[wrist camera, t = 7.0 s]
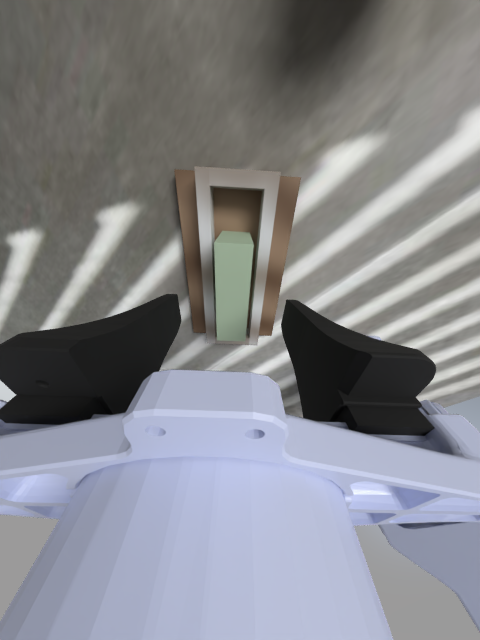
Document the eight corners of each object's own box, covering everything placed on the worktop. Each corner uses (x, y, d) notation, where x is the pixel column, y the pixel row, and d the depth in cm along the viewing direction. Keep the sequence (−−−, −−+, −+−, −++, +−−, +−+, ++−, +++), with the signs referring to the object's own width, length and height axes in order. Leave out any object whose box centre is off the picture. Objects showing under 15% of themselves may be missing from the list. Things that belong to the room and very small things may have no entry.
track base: (270, 331, 24) (273, 346, 21) (195, 327, 23) (189, 342, 21) (297, 178, 15) (309, 173, 12) (178, 171, 15) (165, 164, 12)
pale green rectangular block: (244, 308, 21) (245, 341, 15) (222, 307, 20) (217, 340, 15) (249, 232, 16) (253, 244, 11) (222, 230, 16) (214, 242, 11)
